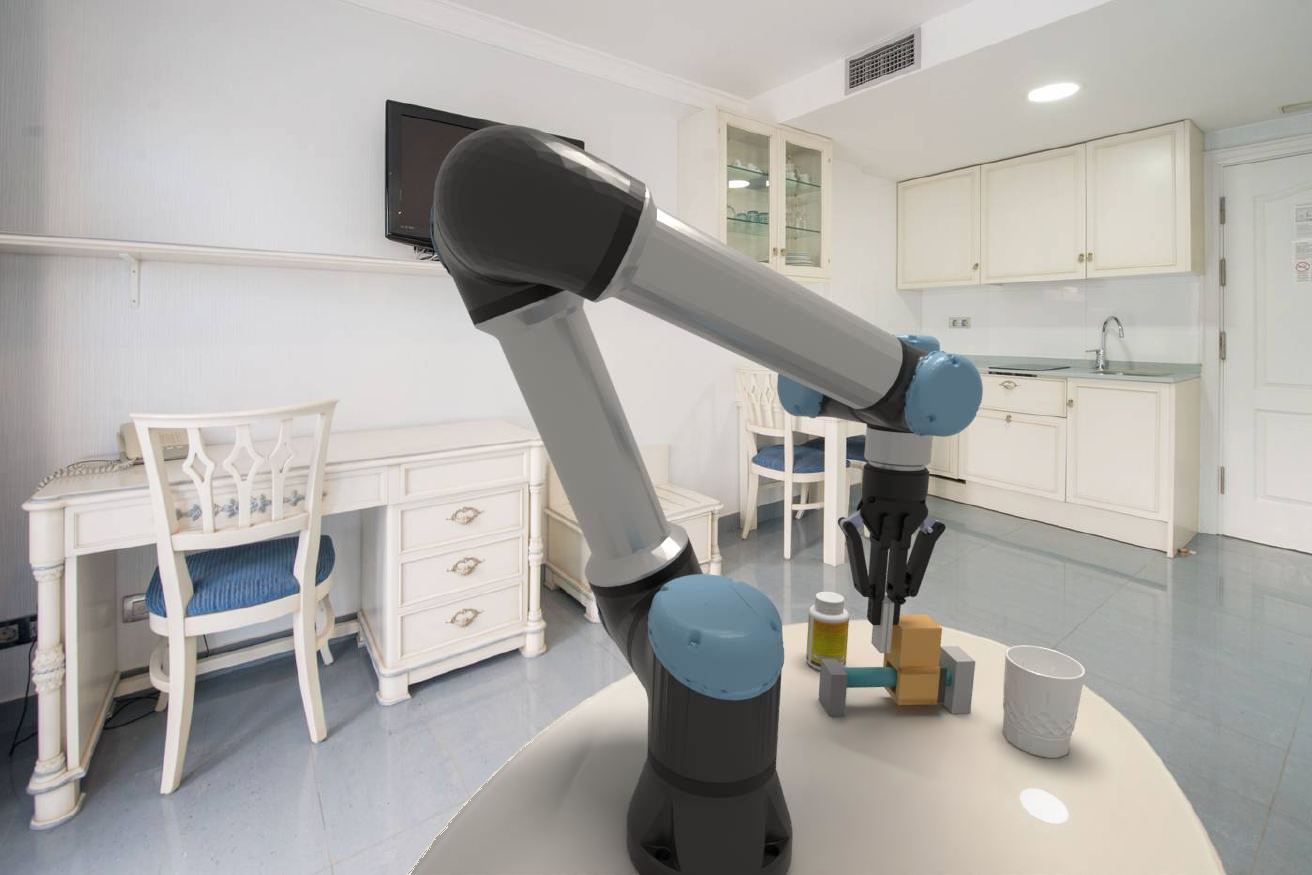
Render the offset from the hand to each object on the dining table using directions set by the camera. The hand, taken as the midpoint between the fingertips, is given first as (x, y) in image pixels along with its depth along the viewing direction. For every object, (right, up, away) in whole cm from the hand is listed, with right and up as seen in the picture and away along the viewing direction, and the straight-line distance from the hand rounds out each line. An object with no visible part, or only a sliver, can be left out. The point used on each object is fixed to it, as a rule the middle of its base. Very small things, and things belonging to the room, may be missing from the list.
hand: (880, 647), depth 81 cm
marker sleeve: (+4, -6, +1) cm, 8 cm away
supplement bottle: (-4, -6, +12) cm, 14 cm away
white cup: (+16, -9, -5) cm, 20 cm away
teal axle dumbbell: (+2, -8, +1) cm, 8 cm away
